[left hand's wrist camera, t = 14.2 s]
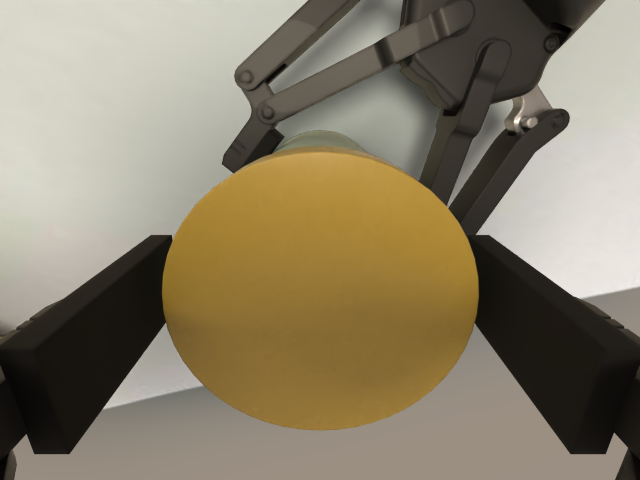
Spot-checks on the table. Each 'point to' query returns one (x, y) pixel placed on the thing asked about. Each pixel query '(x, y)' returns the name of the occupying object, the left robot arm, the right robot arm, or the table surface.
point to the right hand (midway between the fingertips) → (273, 265)
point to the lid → (320, 289)
